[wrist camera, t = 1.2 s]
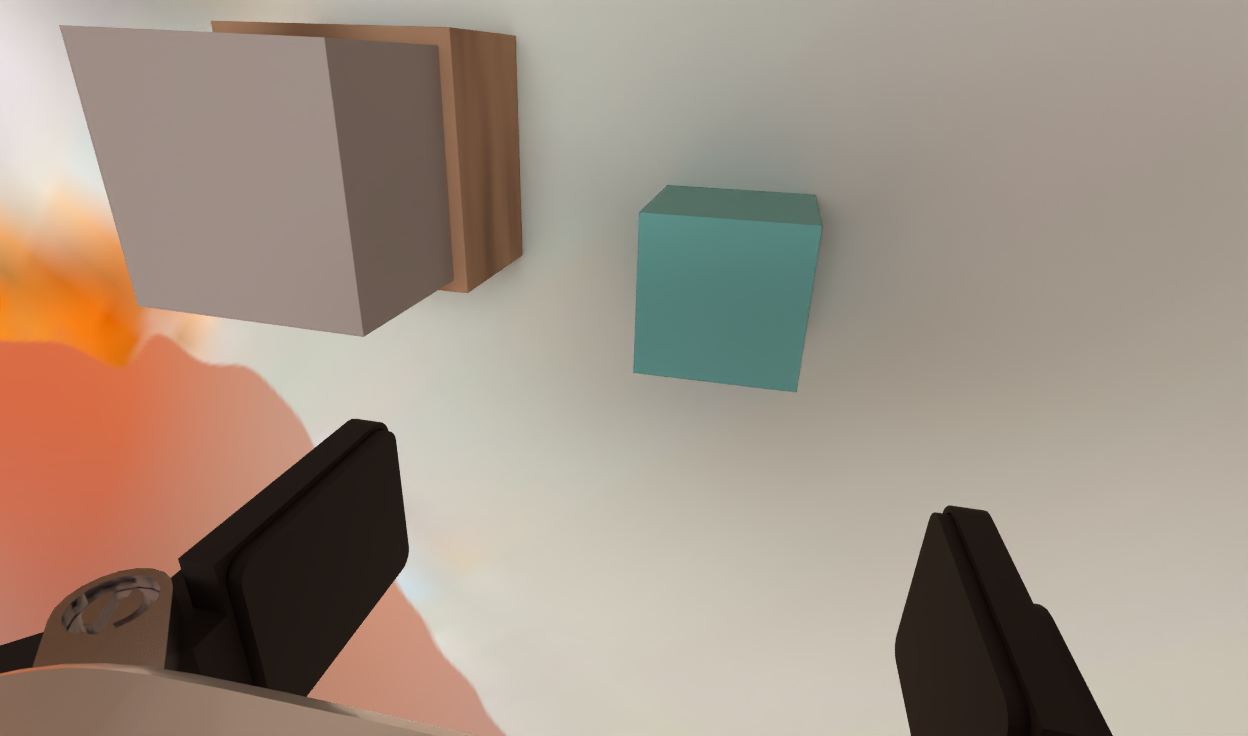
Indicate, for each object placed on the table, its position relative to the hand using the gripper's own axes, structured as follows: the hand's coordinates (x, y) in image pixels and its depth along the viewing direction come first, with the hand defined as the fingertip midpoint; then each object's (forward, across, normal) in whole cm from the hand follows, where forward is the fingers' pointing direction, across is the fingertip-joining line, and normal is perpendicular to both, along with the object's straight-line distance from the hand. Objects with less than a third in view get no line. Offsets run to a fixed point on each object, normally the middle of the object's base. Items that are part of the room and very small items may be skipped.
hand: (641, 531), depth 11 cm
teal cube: (+19, 0, 0) cm, 19 cm away
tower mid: (+13, +14, -4) cm, 19 cm away
